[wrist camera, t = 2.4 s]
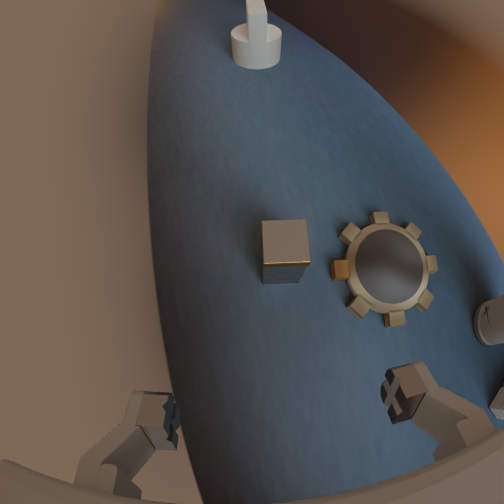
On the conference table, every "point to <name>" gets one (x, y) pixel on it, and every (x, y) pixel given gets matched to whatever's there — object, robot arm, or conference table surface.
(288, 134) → the conference table surface
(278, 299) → the conference table surface
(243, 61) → the base with upright slab
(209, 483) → the conference table surface
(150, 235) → the conference table surface
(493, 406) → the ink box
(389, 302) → the toothed wheel
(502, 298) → the travel mug
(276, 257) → the link block
